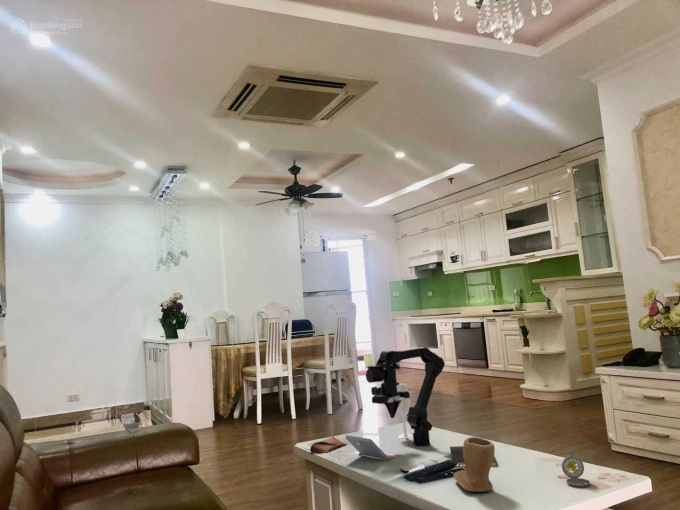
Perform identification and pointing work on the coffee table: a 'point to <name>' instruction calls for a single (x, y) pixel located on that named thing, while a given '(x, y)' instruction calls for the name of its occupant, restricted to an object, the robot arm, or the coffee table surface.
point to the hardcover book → (458, 456)
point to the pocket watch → (570, 464)
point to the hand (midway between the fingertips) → (392, 417)
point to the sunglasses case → (326, 445)
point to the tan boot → (476, 465)
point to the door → (366, 447)
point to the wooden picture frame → (389, 456)
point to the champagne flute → (403, 409)
